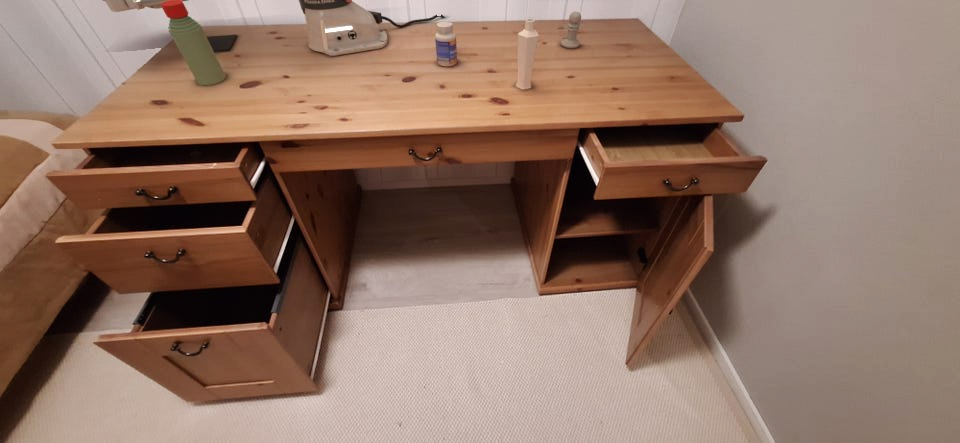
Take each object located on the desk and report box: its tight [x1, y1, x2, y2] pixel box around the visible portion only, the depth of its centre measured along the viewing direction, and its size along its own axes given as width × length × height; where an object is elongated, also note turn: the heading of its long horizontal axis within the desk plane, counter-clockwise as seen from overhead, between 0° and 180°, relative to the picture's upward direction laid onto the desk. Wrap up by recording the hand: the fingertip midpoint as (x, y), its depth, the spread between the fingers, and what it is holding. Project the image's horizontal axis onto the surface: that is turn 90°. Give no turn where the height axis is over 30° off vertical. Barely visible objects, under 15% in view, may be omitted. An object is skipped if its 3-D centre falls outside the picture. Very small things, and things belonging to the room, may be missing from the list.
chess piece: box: [560, 10, 582, 49], centre depth 107 cm, size 5×5×9 cm
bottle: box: [167, 14, 227, 86], centre depth 88 cm, size 6×6×17 cm
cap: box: [161, 0, 189, 19], centre depth 83 cm, size 4×4×2 cm
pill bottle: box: [434, 21, 458, 67], centre depth 98 cm, size 5×5×10 cm
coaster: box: [206, 33, 238, 53], centre depth 109 cm, size 11×11×1 cm
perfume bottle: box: [515, 18, 540, 91], centre depth 87 cm, size 5×4×15 cm
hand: (162, 1), depth 89 cm, fingers open, 8 cm apart
